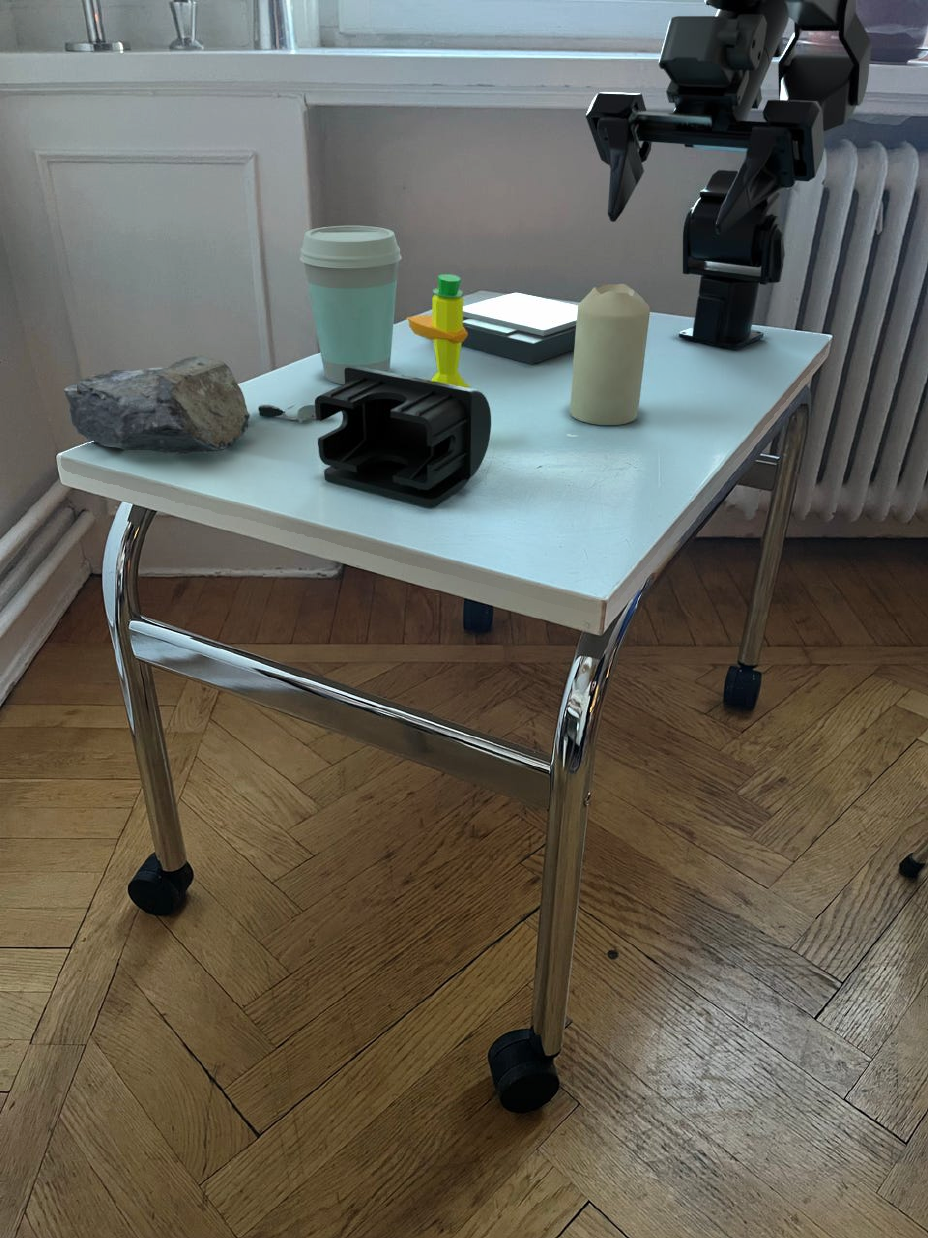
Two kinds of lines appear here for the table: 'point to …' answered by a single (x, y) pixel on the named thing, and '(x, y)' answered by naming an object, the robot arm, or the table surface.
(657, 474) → the table surface
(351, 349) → the coffee cup
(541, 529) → the table surface
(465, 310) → the scale
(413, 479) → the end cap
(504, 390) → the table surface
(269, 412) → the toy
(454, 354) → the toy figure
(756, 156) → the robot arm
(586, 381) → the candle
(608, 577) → the table surface
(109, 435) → the rock
